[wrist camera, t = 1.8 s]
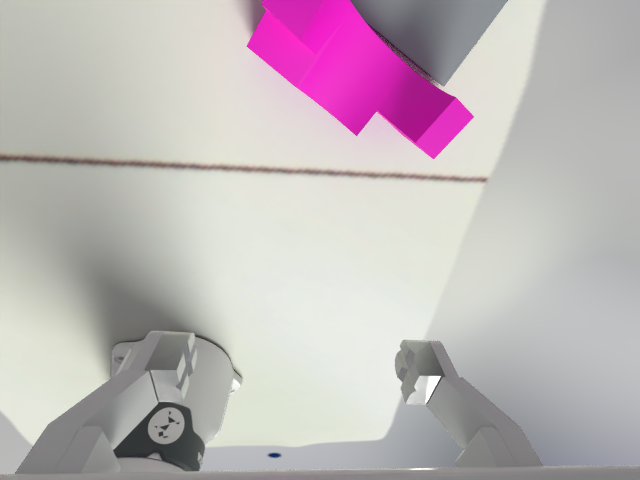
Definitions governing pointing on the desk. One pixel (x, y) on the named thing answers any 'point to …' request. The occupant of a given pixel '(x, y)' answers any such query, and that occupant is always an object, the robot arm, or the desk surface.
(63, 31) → the desk surface
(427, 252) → the desk surface
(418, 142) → the magenta notched part
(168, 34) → the desk surface
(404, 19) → the mat
